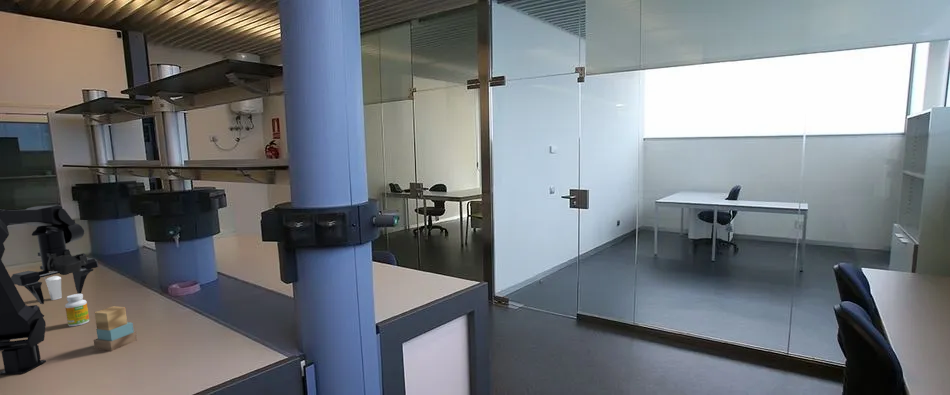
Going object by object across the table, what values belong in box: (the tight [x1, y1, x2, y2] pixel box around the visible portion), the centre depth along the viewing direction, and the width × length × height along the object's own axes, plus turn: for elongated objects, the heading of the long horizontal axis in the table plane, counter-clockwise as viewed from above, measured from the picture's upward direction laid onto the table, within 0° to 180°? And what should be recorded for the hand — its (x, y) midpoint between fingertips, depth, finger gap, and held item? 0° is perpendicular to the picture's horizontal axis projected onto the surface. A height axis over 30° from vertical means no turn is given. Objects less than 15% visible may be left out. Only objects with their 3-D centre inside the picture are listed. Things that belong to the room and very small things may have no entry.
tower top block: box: [96, 321, 135, 341], centre depth 130 cm, size 6×6×3 cm
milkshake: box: [43, 275, 63, 301], centre depth 178 cm, size 4×5×10 cm
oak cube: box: [94, 305, 128, 330], centre depth 130 cm, size 5×5×5 cm
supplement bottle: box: [64, 293, 90, 327], centre depth 149 cm, size 5×5×10 cm
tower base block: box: [93, 331, 138, 352], centre depth 131 cm, size 7×7×3 cm
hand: (61, 298), depth 134 cm, fingers open, 9 cm apart
